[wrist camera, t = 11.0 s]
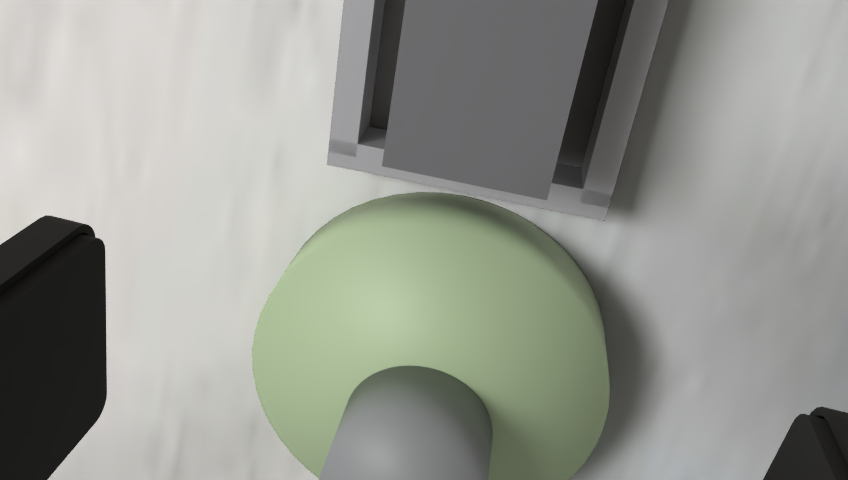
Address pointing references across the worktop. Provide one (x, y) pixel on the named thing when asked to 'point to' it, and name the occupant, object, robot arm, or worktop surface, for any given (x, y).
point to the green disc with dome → (445, 304)
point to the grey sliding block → (486, 90)
